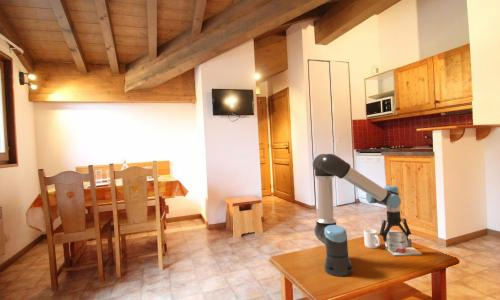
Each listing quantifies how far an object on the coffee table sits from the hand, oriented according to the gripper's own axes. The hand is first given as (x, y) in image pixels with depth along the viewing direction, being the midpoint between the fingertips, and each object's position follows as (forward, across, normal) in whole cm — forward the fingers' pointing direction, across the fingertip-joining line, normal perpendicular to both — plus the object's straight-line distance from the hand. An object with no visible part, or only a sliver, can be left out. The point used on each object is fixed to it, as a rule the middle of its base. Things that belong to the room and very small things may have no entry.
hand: (396, 246), depth 163 cm
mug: (+4, -10, +10) cm, 15 cm away
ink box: (+3, 0, 0) cm, 3 cm away
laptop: (+4, +4, 0) cm, 6 cm away
